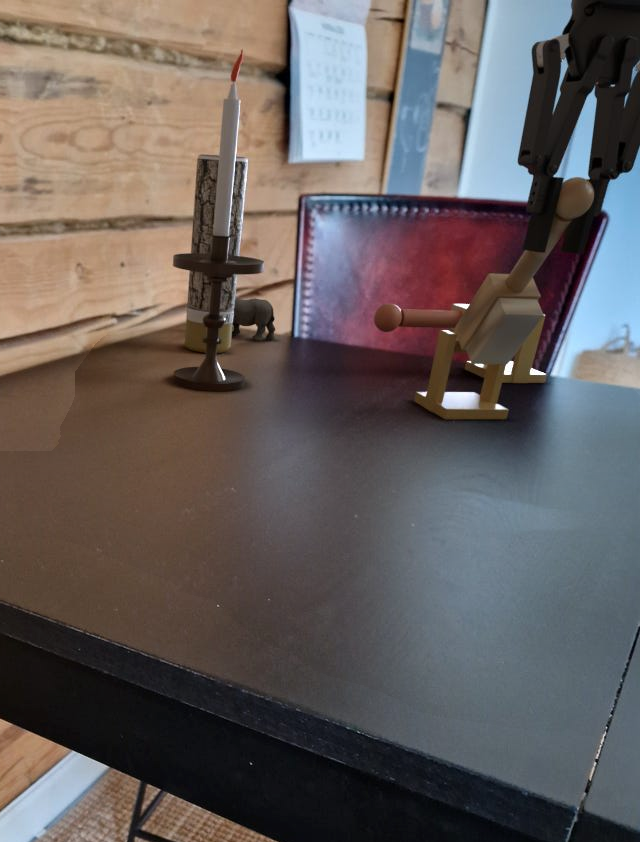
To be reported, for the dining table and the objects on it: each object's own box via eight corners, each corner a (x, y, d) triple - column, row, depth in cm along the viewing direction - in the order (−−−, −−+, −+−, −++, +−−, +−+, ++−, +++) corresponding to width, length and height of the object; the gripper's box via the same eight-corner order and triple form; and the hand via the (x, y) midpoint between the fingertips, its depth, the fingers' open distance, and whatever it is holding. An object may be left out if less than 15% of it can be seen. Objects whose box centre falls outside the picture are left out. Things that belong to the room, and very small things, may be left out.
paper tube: (181, 351, 124) (194, 154, 112) (187, 343, 130) (200, 154, 117) (227, 356, 123) (246, 157, 111) (232, 347, 129) (250, 157, 117)
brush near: (624, 212, 80) (602, 170, 82) (573, 209, 79) (553, 166, 81) (501, 377, 99) (486, 339, 102) (459, 377, 98) (445, 338, 101)
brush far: (378, 352, 114) (386, 306, 111) (362, 344, 118) (369, 299, 115) (526, 355, 118) (537, 310, 115) (504, 346, 123) (515, 304, 120)
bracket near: (507, 419, 101) (527, 340, 96) (444, 419, 99) (462, 338, 95) (472, 401, 108) (490, 326, 103) (412, 401, 106) (428, 325, 101)
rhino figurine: (196, 328, 141) (199, 289, 138) (276, 339, 137) (281, 299, 134) (187, 332, 138) (190, 292, 135) (269, 343, 133) (274, 302, 130)
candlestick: (266, 383, 110) (305, 55, 92) (221, 397, 102) (254, 42, 85) (196, 368, 115) (220, 55, 98) (148, 380, 107) (165, 43, 90)
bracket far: (494, 382, 118) (511, 314, 113) (464, 369, 125) (479, 303, 120) (545, 383, 119) (564, 315, 115) (513, 369, 126) (529, 305, 122)
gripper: (678, -26, 79) (600, 251, 90) (518, -46, 75) (458, 244, 87) (742, -41, 73) (650, 259, 84) (570, -64, 69) (498, 252, 81)
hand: (552, 251), depth 86 cm, fingers closed on brush near, 4 cm apart
